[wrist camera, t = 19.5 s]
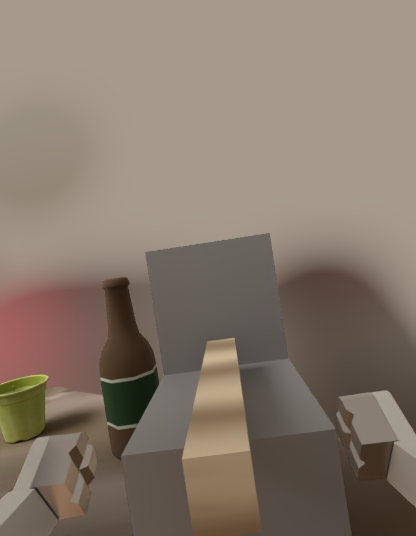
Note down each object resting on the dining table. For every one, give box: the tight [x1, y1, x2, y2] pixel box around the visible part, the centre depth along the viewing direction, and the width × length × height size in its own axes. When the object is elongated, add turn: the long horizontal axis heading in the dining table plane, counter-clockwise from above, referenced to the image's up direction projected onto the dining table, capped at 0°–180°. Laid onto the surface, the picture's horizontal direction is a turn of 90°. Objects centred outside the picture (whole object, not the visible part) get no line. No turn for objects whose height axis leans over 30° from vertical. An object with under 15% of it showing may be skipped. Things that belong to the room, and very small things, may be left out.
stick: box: [182, 338, 262, 536], centre depth 22 cm, size 19×2×3 cm, turn 177°
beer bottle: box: [99, 277, 159, 460], centre depth 49 cm, size 8×8×24 cm
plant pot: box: [0, 375, 48, 443], centre depth 59 cm, size 9×9×9 cm
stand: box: [121, 233, 352, 536], centre depth 30 cm, size 22×12×26 cm, turn 177°
